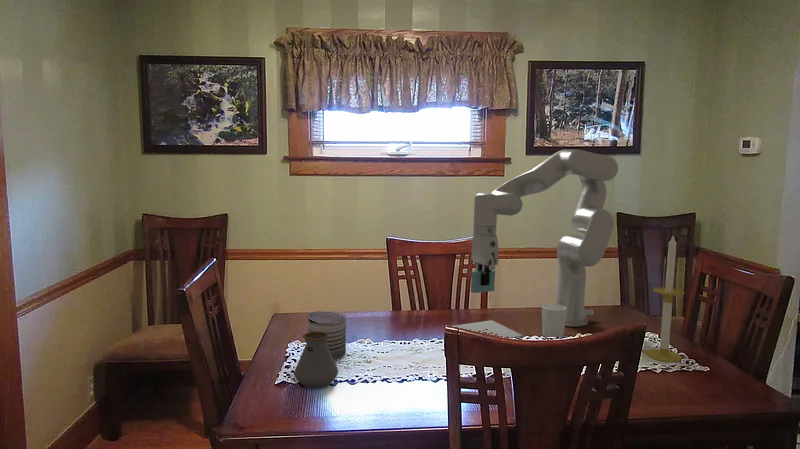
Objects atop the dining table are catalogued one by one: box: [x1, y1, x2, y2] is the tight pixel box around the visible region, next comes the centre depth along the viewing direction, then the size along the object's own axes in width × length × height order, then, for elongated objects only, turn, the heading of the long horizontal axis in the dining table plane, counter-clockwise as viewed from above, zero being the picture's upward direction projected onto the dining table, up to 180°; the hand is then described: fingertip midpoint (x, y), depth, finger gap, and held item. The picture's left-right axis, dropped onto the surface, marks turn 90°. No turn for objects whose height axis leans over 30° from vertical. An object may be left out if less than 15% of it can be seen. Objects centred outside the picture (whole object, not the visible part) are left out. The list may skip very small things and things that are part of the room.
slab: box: [470, 269, 496, 294], centre depth 194 cm, size 8×2×7 cm, turn 115°
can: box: [307, 310, 347, 361], centre depth 172 cm, size 11×11×12 cm
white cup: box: [541, 303, 567, 340], centre depth 191 cm, size 8×8×10 cm
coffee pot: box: [293, 332, 339, 389], centre depth 147 cm, size 21×12×15 cm, turn 1°
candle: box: [645, 235, 685, 363], centre depth 172 cm, size 10×10×38 cm
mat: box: [451, 319, 524, 339], centre depth 194 cm, size 19×18×1 cm
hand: (482, 284), depth 194 cm, fingers closed on slab, 1 cm apart
